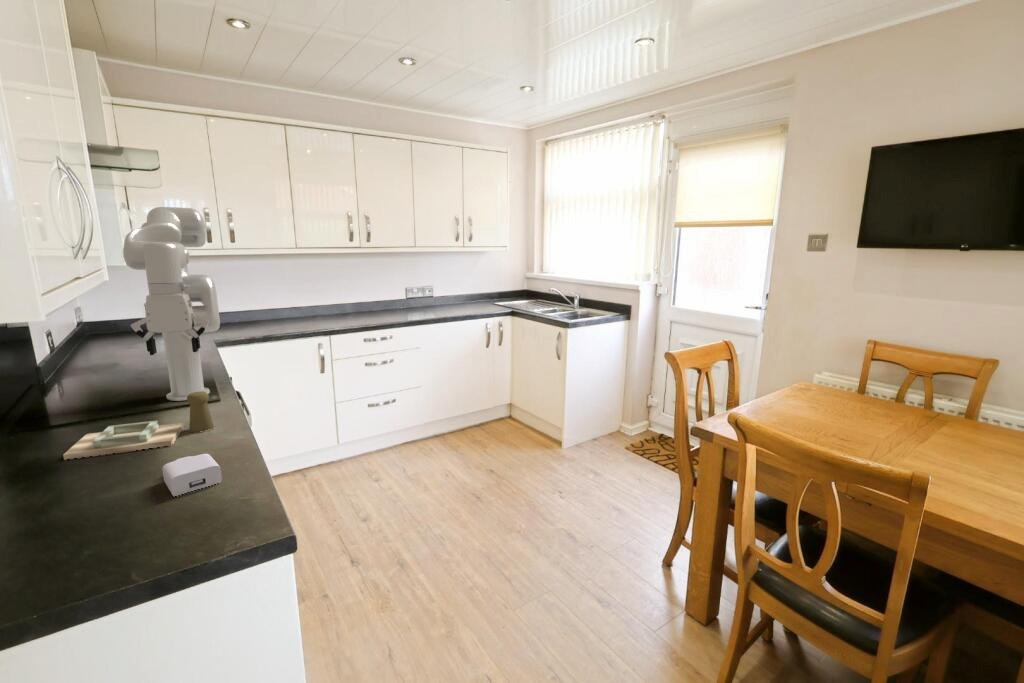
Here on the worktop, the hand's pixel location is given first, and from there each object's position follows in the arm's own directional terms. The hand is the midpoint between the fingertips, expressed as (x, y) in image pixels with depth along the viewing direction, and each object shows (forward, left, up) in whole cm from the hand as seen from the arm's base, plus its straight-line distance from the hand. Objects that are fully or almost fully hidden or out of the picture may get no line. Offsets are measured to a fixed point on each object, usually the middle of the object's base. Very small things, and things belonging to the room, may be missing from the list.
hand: (175, 352), depth 126 cm
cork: (-3, +3, -24) cm, 24 cm away
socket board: (+1, -13, -24) cm, 27 cm away
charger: (+30, +6, -24) cm, 39 cm away
